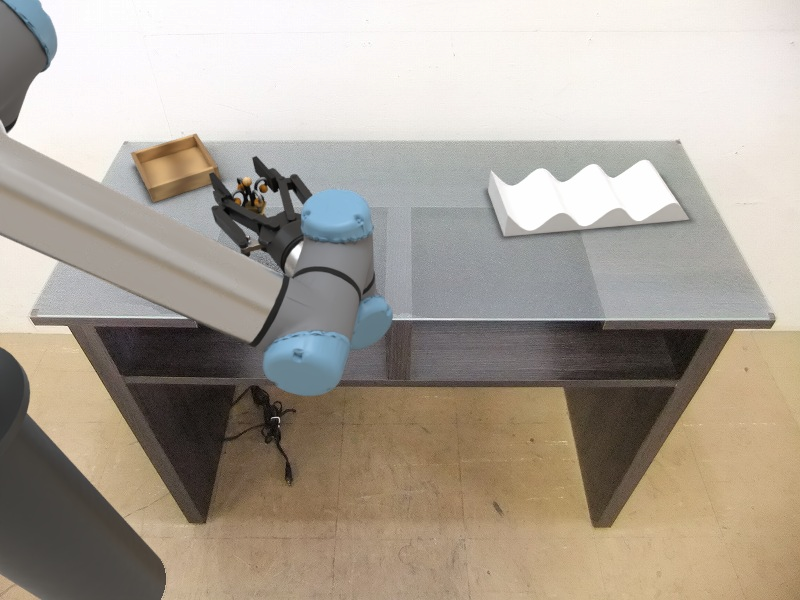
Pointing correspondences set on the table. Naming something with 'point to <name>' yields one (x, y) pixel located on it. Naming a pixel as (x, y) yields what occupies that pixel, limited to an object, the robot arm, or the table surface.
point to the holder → (175, 167)
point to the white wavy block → (583, 200)
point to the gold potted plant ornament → (251, 194)
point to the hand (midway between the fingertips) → (234, 172)
